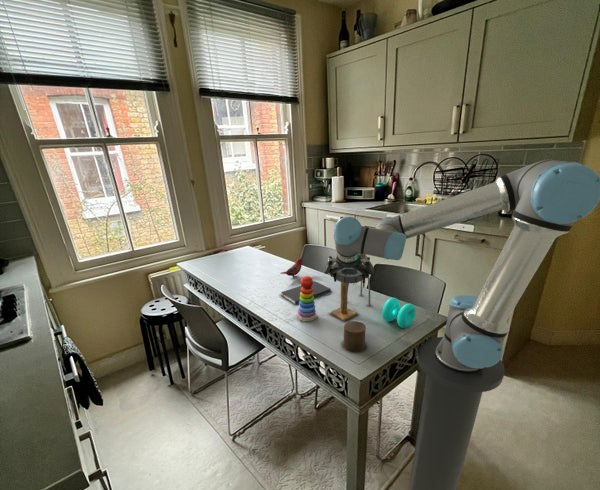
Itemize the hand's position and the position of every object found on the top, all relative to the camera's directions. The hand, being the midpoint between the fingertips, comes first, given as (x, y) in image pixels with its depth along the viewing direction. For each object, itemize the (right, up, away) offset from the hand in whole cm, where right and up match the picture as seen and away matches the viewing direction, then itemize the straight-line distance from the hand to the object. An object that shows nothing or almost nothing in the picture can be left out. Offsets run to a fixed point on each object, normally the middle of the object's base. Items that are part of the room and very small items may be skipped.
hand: (349, 279), depth 119 cm
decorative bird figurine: (-23, +1, +54) cm, 58 cm away
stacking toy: (-16, -16, +15) cm, 27 cm away
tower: (0, -15, +16) cm, 22 cm away
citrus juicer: (+9, -10, +26) cm, 29 cm away
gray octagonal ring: (-1, 0, -3) cm, 4 cm away
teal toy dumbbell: (+21, -18, +8) cm, 28 cm away
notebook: (-16, -6, +36) cm, 40 cm away
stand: (+1, -24, -5) cm, 25 cm away
